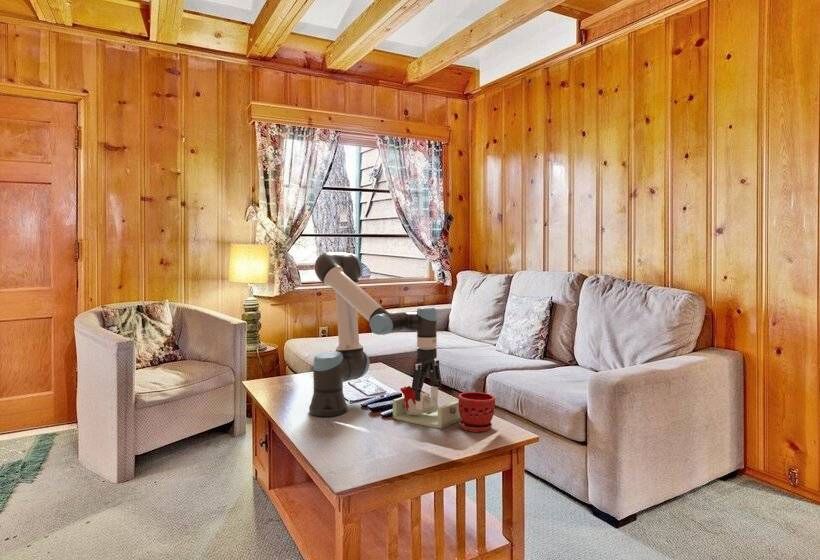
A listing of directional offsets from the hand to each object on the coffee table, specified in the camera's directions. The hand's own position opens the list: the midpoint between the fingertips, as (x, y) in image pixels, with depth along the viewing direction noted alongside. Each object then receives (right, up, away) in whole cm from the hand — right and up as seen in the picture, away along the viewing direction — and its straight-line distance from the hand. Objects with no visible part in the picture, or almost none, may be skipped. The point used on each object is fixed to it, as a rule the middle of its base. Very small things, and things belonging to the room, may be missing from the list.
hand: (426, 406), depth 194 cm
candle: (+1, -4, +1) cm, 4 cm away
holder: (0, -5, 0) cm, 5 cm away
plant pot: (+17, -5, -12) cm, 22 cm away
